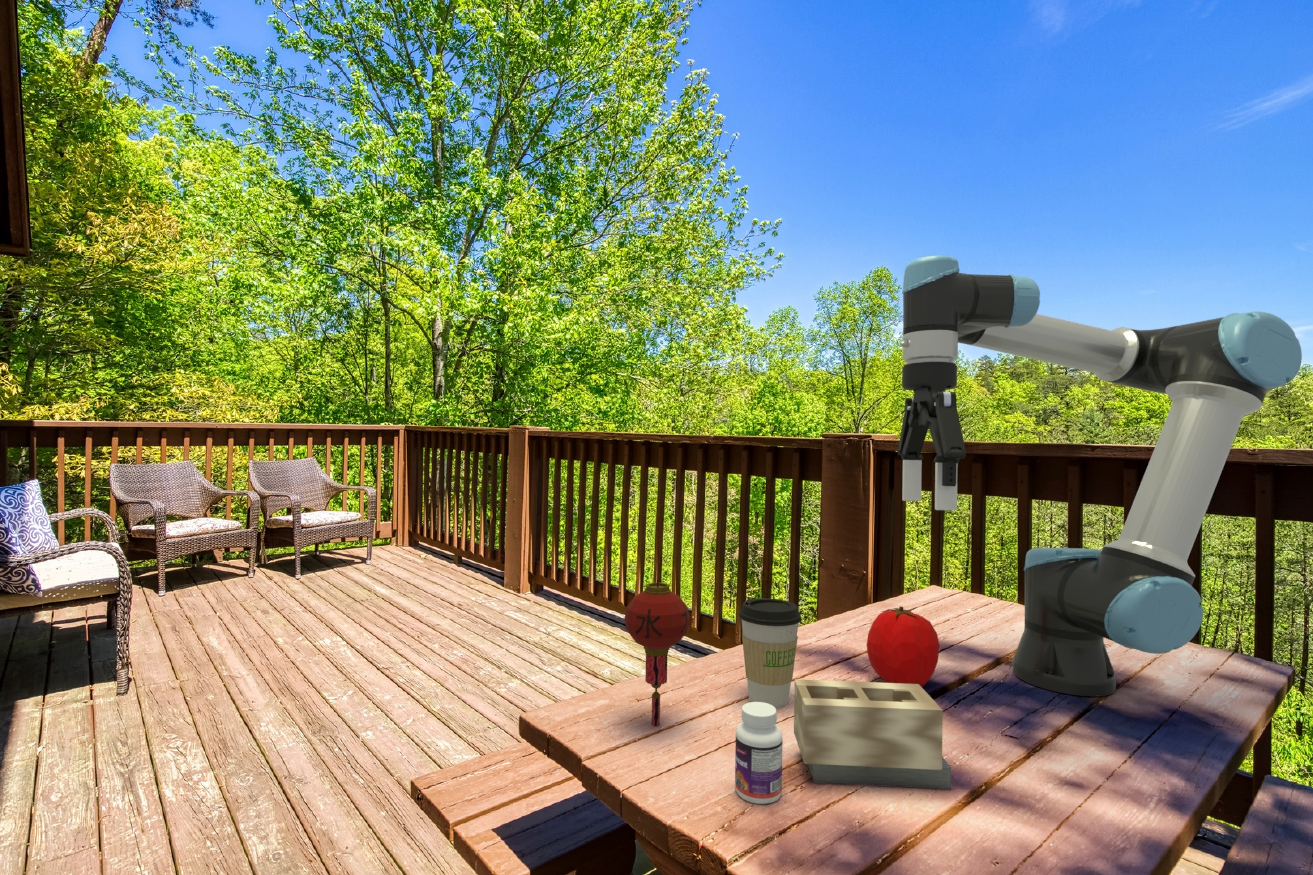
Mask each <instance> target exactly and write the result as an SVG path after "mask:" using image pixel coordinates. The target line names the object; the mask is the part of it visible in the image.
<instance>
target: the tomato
mask: <svg viewBox="0 0 1313 875" xmlns="http://www.w3.org/2000/svg"><path fill="white" fill-rule="evenodd" d="M917 608H919V607H918V606H915V607H913V608H911V609H904V606H899V607H895V608H891V609H890V608H889V609H885V610H883V611H881V612H879V614H878V615H877V616H876V618H874V620H873V622H872V623H871V626H870V629H869V630H868V633H867V640H866V651H867V657H868V659H869V662H870V665H871V667H872V669H873V670H874V672H875V673H876V674H877V675H878V677H880V679H882V680H883V681H884V683H902V684H919V685H920V686H921V687H922V688H923V687H924V686H925V685H926V683H928V682H929V680H930V679H931V677H932V676H933V675H934V673H935V671H936V667H937V665H938V663H939V654H940V642H939V641H940V640H939V636H938V633H937V631H936V629H935V628H934V626H933V625H932V623H931V621H930V620H928V619H927V618H925V617H923V616H921V615H920V614H918V613H915V612H912V611H914V610H915V609H917Z"/></svg>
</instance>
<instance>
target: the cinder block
mask: <svg viewBox="0 0 1313 875" xmlns="http://www.w3.org/2000/svg"><path fill="white" fill-rule="evenodd" d="M793 684H794V686H793V687H794V690H793V691H794V693H793V694H794V696H793V700H794V701H793V734H794V738H795V741H796V742H797V743H796V744H797V746H798V749H799V752H800V756H801V757H802V761H803V764H807V765H808V764H825V765H846V766H868V767H889V768H911V769H932V770H942V757H943V728H944V726H943V724H944V723H943V716H944V715H943V714H944V710H943V709H942V708H941V707H940V706H939V705H938V703H937V702H936V701H935V700H934V699H933V698H932V697H931V695H930V694H928V692H926V690H925V689H924V688H923V687H921V686H920V685H919V684H902V683H887V682H875V681H873V682H872V681H871V682H870V681H848V680H845V681H844V680H824V679H823V680H821V679H819V680H818V679H796V678H795V679H794V683H793Z"/></svg>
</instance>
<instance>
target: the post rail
mask: <svg viewBox="0 0 1313 875" xmlns="http://www.w3.org/2000/svg"><path fill="white" fill-rule="evenodd" d="M807 767H808V769H809V772H810V774H811V775H810V776H811V777H812V781H813V783H814V784H833V785H835V784H836V785H855V786H877V787H898V788H917V789H918V788H921V789H938V790H939V789H941V790H943V789H944V790H951V789H952V767H951V766H950V764H949V763H948V762H947V761H946V759H945V758H944V757H943V756H942V770H932V769H911V768H889V767H868V766H846V765H825V764H807Z"/></svg>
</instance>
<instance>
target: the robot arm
mask: <svg viewBox="0 0 1313 875" xmlns="http://www.w3.org/2000/svg"><path fill="white" fill-rule="evenodd" d="M960 271H961V270H960V266H959V261H958V259H957V258H956V257H954V256H949V255H944V254H938V255H937V254H936V255H928V256H927V255H926V256H923V257H918V258H916V259H913V260H912V261H910V262H909V263H908V264H907V265H905V269H904V275H903V283H902V284H903V286H902V297H903V298H902V303H903V304H902V307H903V309H902V310H903V311H902V312H903V313H902V316H903V319H902V321H903V322H902V324H903V326H902V328H903V329H902V331H903V332H902V340H900V341H899V347H902V361H904V362H905V363H906V364H904V365H903V367H902V368H901V369H902V377H901V382H902V384H901V385H902V386H901V387H902V389H904V390H905V391H913V393H914V394H913V397H905V400H904V412H903V418H902V424H901V430H900V436H899V440H898V441H899V442H898V448H897V454H898V456H900V457H901V460H902V489H901V491H902V493H901V494H902V497H901V498H902V501H903V502H921V501H922V470H923V469H922V467H923V465H922V464H923V462H922V460H924V456H923V455H922V454H923V453H922V449H923V447H924V443H925V440H926V438H927V434H928V431H929V432H930V433H929V434H930V436H931V440H932V443H933V447H934V450H935V453H936V454H935V457H934V458H933V463H935V464H934V465H935V467H934V468H935V469H934V471H935V472H934V474H935V476H934V480H935V481H934V510H935V511H958V468H959V466H958V465H959V463H960V461H961V459H965V458H966V457H967V452H966V446H965V441H964V437H963V432H962V427H961V421H960V415H959V411H958V401H957V392H955V391H949V390H954V389H955V388H956V387H957V385H958V365H957V364H956V363H955V362H954V361H956V360H957V359H958V357H959V356H958V355H959V354H958V353H959V351H958V350H959V344H963V345H968V346H973V347H978V348H982V349H987V350H990V351H994V352H1000V353H1003V354H1009V355H1013V356H1018V357H1022V358H1026V359H1031V360H1036V361H1041V362H1045V363H1048V364H1054V365H1057V366H1062V367H1063V366H1064V367H1067V368H1073V369H1075V370H1081V371H1085V372H1089V373H1093V374H1094V375H1095V377H1096V378H1097V379H1099V380H1100V381H1102V382H1107V383H1112V384H1117V385H1120V386H1125V387H1129V388H1132V389H1138V390H1142V391H1145V392H1146V391H1147V392H1153V393H1157V394H1166V395H1167V396H1168V398H1170V400H1171V401H1172V402H1171V406H1170V409H1169V411H1168V414H1167V416H1166V418H1165V421H1164V424H1163V426H1162V429H1161V432H1160V434H1159V437H1158V438H1157V442H1156V445H1155V447H1154V450H1153V451H1152V454H1151V457H1150V458H1149V459H1150V460H1149V461H1148V465H1147V467H1146V470H1145V472H1144V474H1143V476H1142V479H1141V481H1140V485H1139V487H1138V490H1137V492H1136V495H1135V497H1134V499H1133V502H1132V505H1131V508H1130V510H1129V512H1128V514H1127V518H1126V520H1125V522H1124V526H1123V528H1122V529H1121V530H1122V531H1121V533H1120V535H1119V538H1118V539H1117V540H1115V541H1112V542H1110V543H1107V544H1104V545H1103V547H1102V548H1101V549H1099V548H1098V549H1097V548H1082V547H1081V548H1078V547H1077V548H1076V547H1075V548H1074V547H1071V548H1070V547H1035V548H1030V549H1029V550H1028V551H1026V555H1025V561H1024V567H1023V571H1024V629H1023V632H1022V635H1021V638H1020V640H1019V643H1018V645H1017V648H1016V650H1015V653H1014V655H1013V657H1012V672H1013V674H1014V676H1015V677H1016V678H1018V679H1020V680H1022V681H1023V682H1025V683H1028V684H1030V685H1033V686H1036V687H1039V688H1041V689H1044V690H1049V691H1051V692H1057V693H1060V694H1066V695H1071V696H1072V695H1073V696H1079V697H1081V696H1082V697H1105V696H1109V695H1112V694H1115V692H1116V691H1117V688H1116V687H1117V678H1116V673H1115V671H1114V668H1113V665H1112V662H1111V659H1110V656H1109V652H1108V651H1107V648H1106V645H1105V642H1104V639H1107V640H1109V641H1112V642H1113V643H1115V644H1118V645H1120V646H1122V647H1124V648H1127V649H1131V650H1132V649H1133V650H1138V651H1140V652H1143V653H1148V654H1156V655H1157V654H1158V655H1159V654H1167V653H1171V651H1173V650H1178V649H1181V648H1183V647H1184V646H1185V645H1187V644H1188V643H1190V641H1191V640H1192V639H1193V638H1194V637H1195V635H1196V634H1197V633H1198V631H1199V630H1200V627H1201V625H1202V623H1203V618H1204V607H1203V606H1202V605H1201V603H1202V598H1201V596H1200V594H1199V592H1198V591H1197V590H1196V589H1195V588H1194V587H1193V583H1194V581H1195V578H1196V574H1195V573H1194V571H1193V570H1192V568H1191V567H1190V566H1189V564H1188V559H1189V556H1190V553H1192V552H1191V551H1192V549H1193V546H1194V543H1195V541H1196V538H1197V535H1198V534H1199V531H1200V528H1201V526H1202V523H1203V520H1204V518H1205V515H1206V512H1207V511H1208V508H1209V505H1210V503H1211V500H1212V498H1213V494H1214V492H1215V489H1216V487H1217V484H1218V482H1219V480H1220V476H1221V474H1222V473H1223V472H1222V471H1223V470H1224V466H1225V464H1226V461H1227V459H1228V457H1229V454H1230V451H1231V448H1232V446H1233V444H1234V440H1235V439H1236V435H1237V433H1238V431H1239V428H1240V426H1241V422H1242V420H1243V418H1244V417H1245V416H1247V415H1250V414H1252V413H1255V412H1257V411H1259V410H1261V408H1262V406H1263V402H1264V400H1265V399H1266V395H1267V393H1268V391H1269V390H1274V389H1278V388H1279V387H1282V386H1285V385H1286V384H1288V383H1291V381H1293V380H1294V379H1295V378H1296V377H1297V375H1298V373H1299V372H1300V369H1301V366H1302V358H1303V354H1302V347H1301V344H1300V343H1301V342H1300V340H1299V339H1298V338H1297V336H1296V333H1295V331H1294V330H1293V328H1292V327H1291V325H1289V324H1288V323H1287V322H1286V321H1285V320H1284V319H1282V318H1281V317H1279V316H1277V315H1275V314H1273V313H1271V312H1265V311H1251V312H1250V311H1249V312H1242V313H1236V312H1235V313H1233V312H1232V313H1229V314H1227V315H1225V316H1222V317H1217V318H1212V319H1207V320H1201V321H1196V322H1191V323H1185V324H1180V325H1175V326H1169V327H1163V328H1154V329H1142V330H1141V329H1135V328H1134V329H1133V328H1129V327H1117V328H1114V329H1112V330H1109V329H1105V328H1102V327H1101V328H1100V327H1096V326H1092V325H1088V324H1084V323H1078V322H1075V321H1070V320H1065V319H1063V318H1062V319H1061V318H1057V317H1052V316H1048V315H1043V314H1039V313H1038V311H1039V307H1040V303H1041V299H1040V298H1041V290H1040V287H1039V285H1038V283H1037V282H1036V281H1035V280H1034V279H1032V278H1030V277H1026V276H1022V275H1021V276H1019V275H1014V274H1008V275H1005V274H1004V275H1001V274H1000V275H999V274H975V273H974V274H971V273H970V274H969V273H963V272H960ZM947 390H948V391H947Z"/></svg>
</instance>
